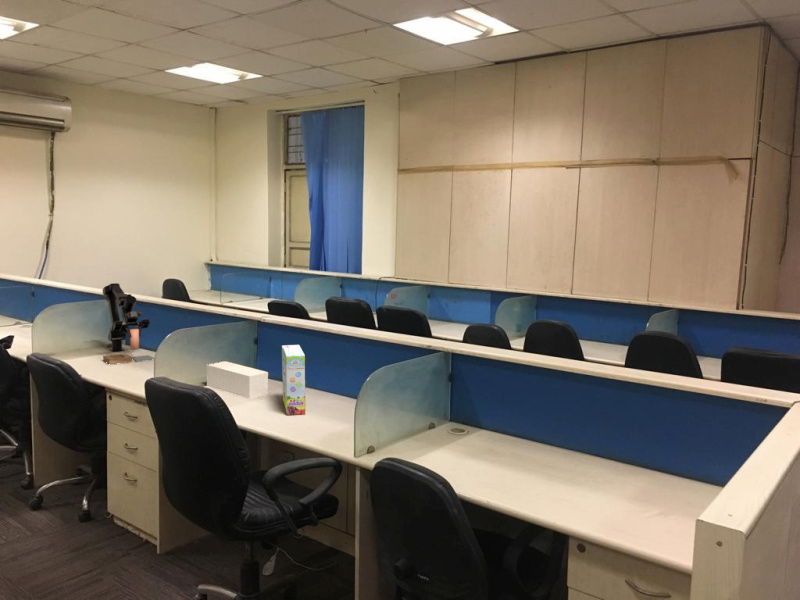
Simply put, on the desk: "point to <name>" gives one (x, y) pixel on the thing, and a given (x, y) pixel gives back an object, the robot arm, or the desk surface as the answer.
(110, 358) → the walnut pocket block
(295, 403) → the snack box
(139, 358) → the rubber mat
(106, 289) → the robot arm
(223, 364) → the stack of papers
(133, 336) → the terracotta peg
